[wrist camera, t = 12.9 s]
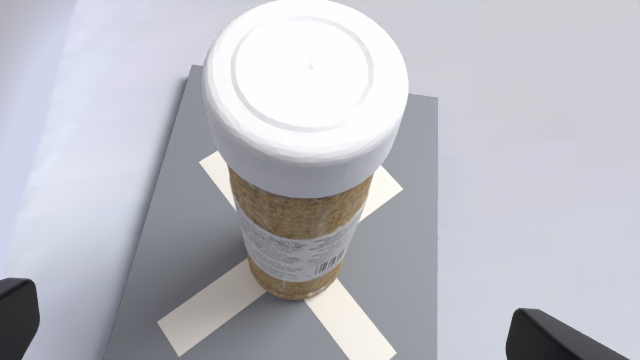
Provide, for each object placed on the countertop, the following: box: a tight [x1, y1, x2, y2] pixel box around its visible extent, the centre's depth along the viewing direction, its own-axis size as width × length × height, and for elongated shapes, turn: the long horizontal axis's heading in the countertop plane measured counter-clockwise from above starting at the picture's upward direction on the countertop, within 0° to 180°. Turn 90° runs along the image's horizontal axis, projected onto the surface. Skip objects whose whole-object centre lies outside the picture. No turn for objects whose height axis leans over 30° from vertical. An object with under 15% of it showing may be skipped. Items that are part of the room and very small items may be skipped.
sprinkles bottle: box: [201, 0, 408, 300], centre depth 16 cm, size 5×5×13 cm
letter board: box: [104, 65, 438, 360], centre depth 23 cm, size 20×14×1 cm
